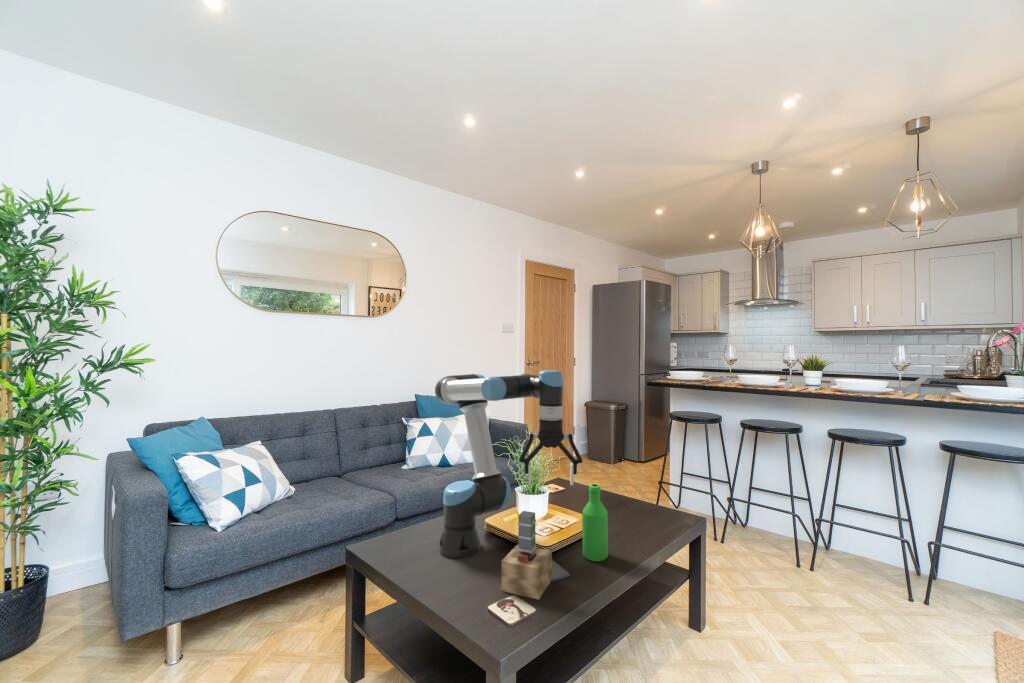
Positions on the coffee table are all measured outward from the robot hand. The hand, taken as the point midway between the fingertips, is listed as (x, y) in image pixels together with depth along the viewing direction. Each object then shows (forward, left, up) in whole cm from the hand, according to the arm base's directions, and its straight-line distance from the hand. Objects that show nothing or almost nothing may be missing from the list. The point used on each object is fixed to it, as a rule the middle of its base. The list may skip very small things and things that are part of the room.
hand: (550, 483), depth 143 cm
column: (-5, -8, -30) cm, 31 cm away
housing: (-5, -8, -30) cm, 31 cm away
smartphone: (-2, +4, -30) cm, 30 cm away
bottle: (+10, +18, -30) cm, 36 cm away
